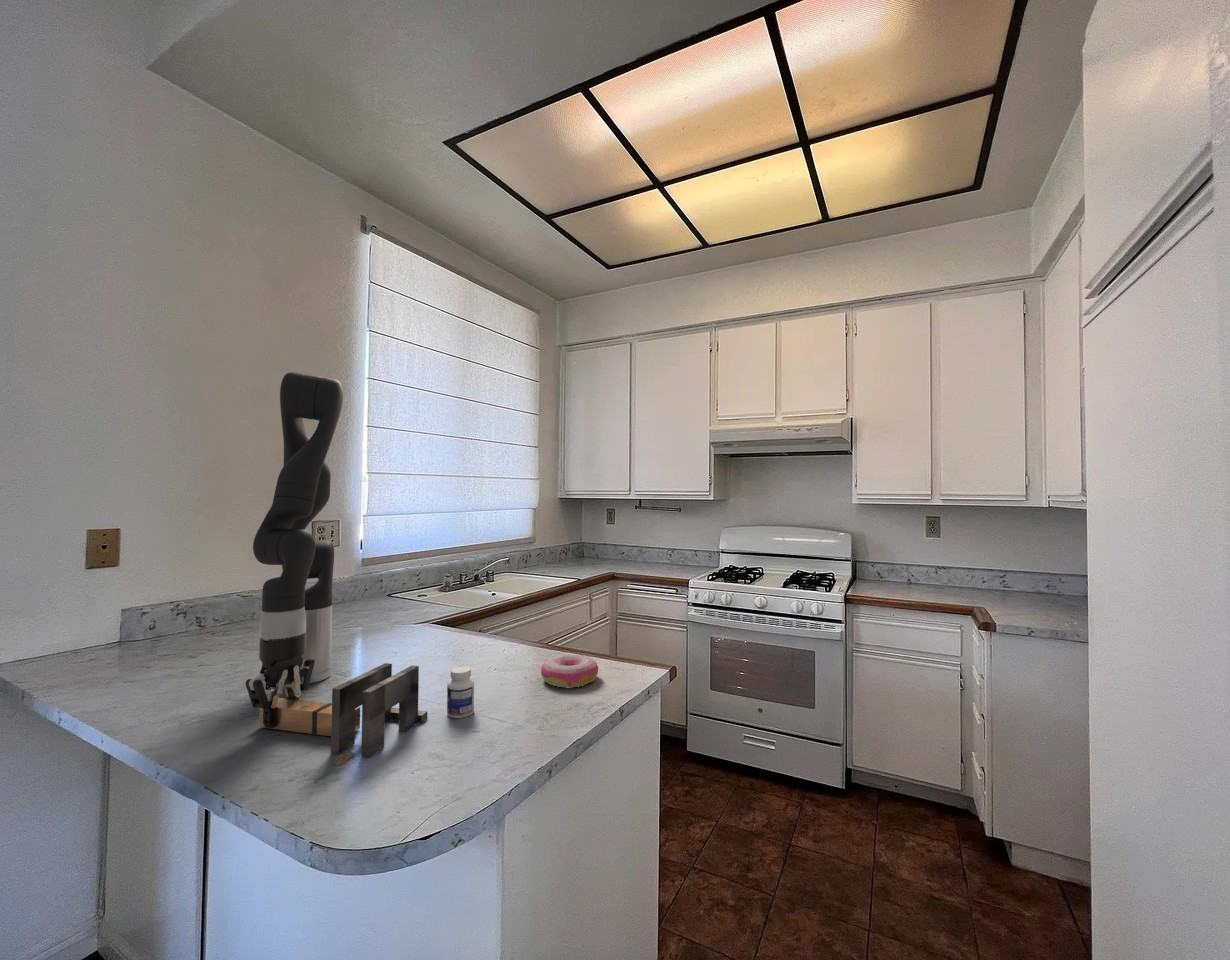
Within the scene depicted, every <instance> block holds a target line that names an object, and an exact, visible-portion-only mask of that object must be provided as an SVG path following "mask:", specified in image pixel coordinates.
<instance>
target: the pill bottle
mask: <svg viewBox="0 0 1230 960" xmlns="http://www.w3.org/2000/svg"><path fill="white" fill-rule="evenodd" d="M471 676H472V668H471V667H470V666H457V667H453V668H451V669H450V680H449V681H448V682H447V688H446V689H447V690H446V691H447V694H446V695H447V696H446V697H447V698H446V714H447V716H448V717H449V718H452V719H463V717H464V718H467V717H469V716H472V714H473V713H474V711H475V681H474V679H473V678H472V677H471Z"/></svg>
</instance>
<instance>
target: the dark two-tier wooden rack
mask: <svg viewBox="0 0 1230 960" xmlns="http://www.w3.org/2000/svg"><path fill="white" fill-rule="evenodd" d="M392 672H393V664H392V663H387V662H386V663H385V662H384V663H383V664H381V665H379V666H377V667H374V668H372V669H370V670H368V671H366V672H365V673H364V672H363V673H362V674H360V675H357V676H356V677H354V678H351V679H349V680H347V681H345V682H343V683H341V684H339V685H337V686H334V687H333V688H332V689H331V690H332V691H331V695H332V696H331V703H332V733H331V736H330V738H331V741H330V742H331V744H330V753H331V754H335V755H339V754H341V753H342V752H344V751H345V750H347V749H349V748H350V747H352V746H353V745H355V744H356V736H355V735H356V731H355V708H357V707H361V749H360V750H361V755H360V756H361V758H364V759H371V758H372V757H373V756H374V755H376V754H377V753H379V752H380V751H382V750H383V749H384V748H385V724H387V723H389V722H390V721H398V732H405V733H407V731H409V730H411V729H412V728H414V726H416V725H417V724H423V723H424V722H426V721H427V720H428V711H426V710H419V689H420V688H419V679H420V678H419V675H420V674H419V672H420V667H419V665H410V666H409V667H406V668H405V669H402V670H401V671H399V672H397V673H395V674H392ZM396 705H398V708H397V707H395V706H396ZM351 758H353V753H348V752H347V753H345V754H343V755H342V756H340V757H338V758H337V759H336V760H334V761H333V762H332V765H335V766H340V765H342V764H344V763H345V762H346V761H348V760H350V759H351Z"/></svg>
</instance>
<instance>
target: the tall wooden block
mask: <svg viewBox="0 0 1230 960" xmlns="http://www.w3.org/2000/svg"><path fill="white" fill-rule="evenodd" d="M276 707H278V708H277V726H276V727H274V728H271V729H274V730H280V731H287V732H296V733H305V734H311V735H320V736H326V737H327V736H329V737H331V733H332V702H328V703H327V702H319V701H311V700H301V699H299V700H293V699H286V697H285V698H283V697H279V698H278V703H277V706H276ZM258 716H259V719H258V720H259V721H258V727H259V728H266V729H268V728H267V727H265V725H264V724H263V709H262V708H259V715H258ZM359 729H361V706H359V707H357V708H355V732H357V731H358V730H359Z"/></svg>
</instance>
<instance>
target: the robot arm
mask: <svg viewBox="0 0 1230 960" xmlns="http://www.w3.org/2000/svg"><path fill="white" fill-rule="evenodd" d="M279 388H280V389H279V402H280V403H279V404H280V405H279V406H280V417H281V428H282V436H283V437H282V438H283V439H282V440H283V467H282V468H281V470H280V472H279V473H278V477H277V480H276V485H275V489H274V493H273V494H274V495H273V499H272V504H271V505H270V508H269V510H268V511H267V512H266V514H265V517H264V519H263V521H262V522H261V524H260V526H259V528H258V529H257V531H256V534H255V536H254V539H253V543H252V550H253V551H252V552H253V556H254V557H255V559H256V560H257V561H258V562H259V563H261V564H263V565H266V566H267V565H268V566H281V568H282V572H281V574H280V576H277V577H273V578H269V579H267V580H266V581H265V582H264V583H263V586H262V593H261V615H260V622H259V643H258V644H259V647H258V649H259V650H258V651H259V652H258V653H259V655H258V658H259V661H260V662H261V667H260V670H259V674H258V675H257V676H255V677H254V678H248V679H247V680H246V681H245V687H246V689H247V693H248V697H249V700H250V702H251V705H252V707H253V708H254V709H260V708H262V709H263V724H264V725H265V727H267V728H266V729H272V728H274V727H276V726H277V708H278V707H276V706H277V703H278V698H280V696H281V695H282V694H283V690H284V692H285V696H286V697H285V699H293V700H300V697H301V695H302V693H303V692H305V691H308V689H309V685H310V684H313V683H317V682H321V681H323V680H326V679H328V678H329V677H331V675H332V637H333V635H332V634H333V633H332V632H333V631H332V629H333V577H334V576H333V575H334V567H335V566H334V564H335V547H334V544H333V542H332V541H331V540H328V539H320V540H316V539H315V538H314V536H313V534H312V533H311V532H310V531H308V530H307V529H306V528H307V527H308V526H309V524H310V523H311V522H312V521H313V520H314V519H315V517H317V516H318V514H320V512H321V511H322V510H323V509H324V507H325V506H326V505H327V503H328V502H329V499H330V496H331V477H332V476H331V470H330V467H329V465H328V463H327V462H326V457H327V454H328V452H329V449H330V446H331V443H332V440H333V437H334V434H335V432H336V428H337V426H338V422H339V418H340V415H341V411H342V409H343V408H342V406H343V403H344V402H343V401H344V393H343V392H344V389H343V386H342V383H341V382H340V381H339V380H338V379H335V378H331V377H326V376H320V375H313V374H309V373H302V372H296V371H295V372H292V371H291V372H287V373H286V374H284V375H283V377H282V380H281V383H280V387H279ZM304 419H307V420H315V421H318V424H317V426H316V429H315V431H314V432H313V434H312V436H311V437H309V434H308V433H307V430H306V428H305V423H304ZM311 579H317V581H316V583H315V584H313V585H312V586H310V587H309V588H307V589H306V584H307V581H308V580H311ZM272 688H274V689H272Z"/></svg>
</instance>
